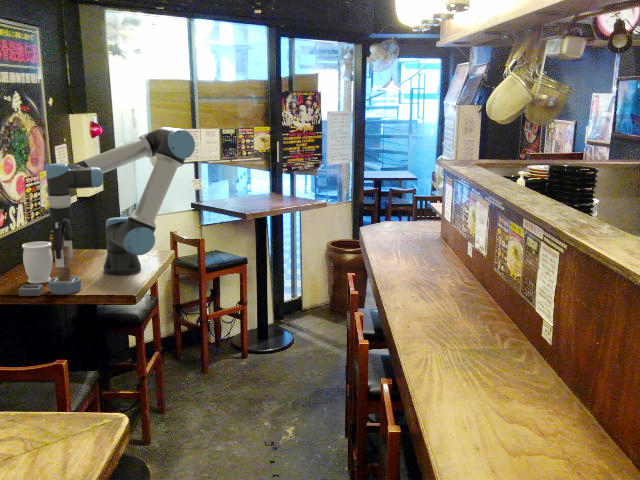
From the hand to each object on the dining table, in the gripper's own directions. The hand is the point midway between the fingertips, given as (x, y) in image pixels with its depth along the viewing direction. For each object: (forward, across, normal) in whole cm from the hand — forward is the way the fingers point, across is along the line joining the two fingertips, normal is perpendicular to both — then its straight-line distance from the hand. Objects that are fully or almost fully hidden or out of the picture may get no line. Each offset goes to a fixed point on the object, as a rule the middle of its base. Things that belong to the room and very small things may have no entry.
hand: (64, 262), depth 226 cm
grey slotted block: (+11, +4, -12) cm, 16 cm away
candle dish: (+11, 0, 0) cm, 11 cm away
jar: (+11, -12, -13) cm, 21 cm away
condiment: (+11, -51, -14) cm, 54 cm away
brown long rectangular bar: (+10, 0, 0) cm, 10 cm away
